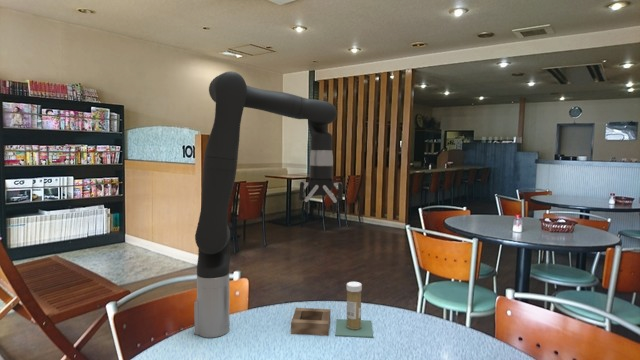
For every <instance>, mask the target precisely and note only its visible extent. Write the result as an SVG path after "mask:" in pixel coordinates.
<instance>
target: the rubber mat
mask: <svg viewBox="0 0 640 360" xmlns="http://www.w3.org/2000/svg"><path fill="white" fill-rule="evenodd" d="M346 325H347V318H342V319H341V318H336V321H335V332H334V333H335V335H334V336H335V337H343V338H344V337H347V338H348V337H349V338H367V339H374V331H373V323H372V320H371V319H370V320H368V319H364V320H362V319H361V328H360V329H357V330H352V329H349V328H347V326H346Z"/></svg>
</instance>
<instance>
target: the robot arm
mask: <svg viewBox="0 0 640 360" xmlns="http://www.w3.org/2000/svg"><path fill="white" fill-rule="evenodd" d="M208 94H209V96H210V98H211V100H212V101H213V102H214V103H215V107H214V108H215V109H214V110H215V112H214V120H213V125H212V129H211V132H210V134H209V137H208V139H207V143H206V147H205V150H204V158H203V167H202V168H203V169H202V185H201V187H202V188H201V205H200V206H201V207H200V212H199V217H198V223H197V226H196V231H195V235H194V240H195V244H196V246H197V248H198V249H197V251H198V254H197V263H196V300H195V301H194V303H193V305H194V307H193V308H194V309H193V310H194V318H193V319H194V326H193V327H194V335H198V336H200V337H202V338H218V337H221V336H224V335H226V334H228V332H230V324H231V323H230V265H231V229H230V227H229V225H228V216H229V215H228V213H229V205H230V204H229V203H230V200H231V196H232V193H233V190H234V185H235V180H236V175H237V170H238V169H237V168H238V158H239V147H240V134H241V133H240V132H241V122H242V116H243V112H244V109H245V108H247V109H252V110H253V109H254V110H259V111H264V112H267V113H271V114H275V115H279V116H283V117H287V118H291V119H294V120H295V119H297V120H307V124H308V128H309V129H308V130H309V133H310V156H309V180H308V182H306V181H303V180H302V181H301V182H300V183H299V191H298V192H299V193H298V199H299V200H300V201H303V202H304V212H305V213H306V214H310V201H309V200H310V199H311V198H312V197H313V196H314V195H315V196H327V195H328V197H329V198H330V199H331V200H332V210H331V211H332V215H335V213H337V211H338V203H339V202H342V200H343V183H342V182H341V181H339V182H334V180H333V177H334V175H333V174H334V166H333V165H334V155H333V135H332V134H331V133H330V132H329V131H328V128H327V127H328V126H327V125H329V124H332V123H333V122H334V121H335V120H336V119H337V117H338V111H337V109H336V106H335V105H334V104H333V103H331V102H329V101H326V100H320V99H313V98H306V97H303V96H300V95H297V94H292V93H288V92H282V91H275V90H269V89H268V90H267V89H263V88H262V89H261V88H256V87H253V86H250V85H247V83H246V81H245V78H244V77H243V76H242V75H241V74H240V73H238V72H236V71H226V72H223V73H220V74H219V75H216V76H215V77H214V78H213V79H212V80H211V82H210V83H209V85H208ZM307 187H308V188H309V190H310V191H309V193H308V195H307V196H304V195H305V189H306V188H307ZM334 187H335V189H336V190H337V191H338V197H336V196H335V194H334V193H333V192H332V189H333V188H334Z"/></svg>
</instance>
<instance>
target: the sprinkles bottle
mask: <svg viewBox="0 0 640 360" xmlns="http://www.w3.org/2000/svg"><path fill="white" fill-rule="evenodd" d="M362 286H363V284H362V283H361V282H358V281H349V282H348V281H347V283H346V319H347V325H346V326H347V328H349V329H352V330H357V329H360V328H361V320H362V302H361V301H362V290H363V289H362V288H363V287H362Z"/></svg>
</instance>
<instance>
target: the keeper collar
mask: <svg viewBox="0 0 640 360" xmlns="http://www.w3.org/2000/svg"><path fill="white" fill-rule="evenodd" d="M330 325H331V308H314V307H313V308H311V307H310V308H309V307H308V308H307V307H296V308H295V310H294V313H293V315H292V318H291V321H290V335H301V336H302V335H305V336H306V335H308V336H324V337H325V336H327V337H328V336H329V335H330Z"/></svg>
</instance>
